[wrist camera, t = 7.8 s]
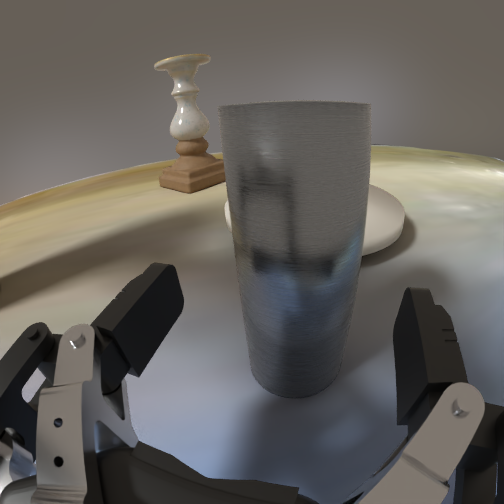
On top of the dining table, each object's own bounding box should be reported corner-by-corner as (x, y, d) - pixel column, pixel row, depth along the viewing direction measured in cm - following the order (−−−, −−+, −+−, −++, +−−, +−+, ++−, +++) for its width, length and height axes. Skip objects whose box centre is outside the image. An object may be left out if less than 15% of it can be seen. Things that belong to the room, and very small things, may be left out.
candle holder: (189, 194, 45) (171, 53, 33) (158, 186, 52) (141, 68, 40) (237, 176, 52) (225, 53, 40) (202, 171, 59) (190, 64, 47)
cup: (254, 404, 14) (213, 107, 7) (247, 333, 18) (219, 105, 11) (351, 387, 14) (401, 107, 7) (326, 322, 19) (337, 100, 11)
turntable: (225, 272, 22) (223, 255, 21) (226, 192, 39) (225, 181, 39) (437, 246, 23) (441, 232, 22) (359, 182, 40) (359, 172, 39)
